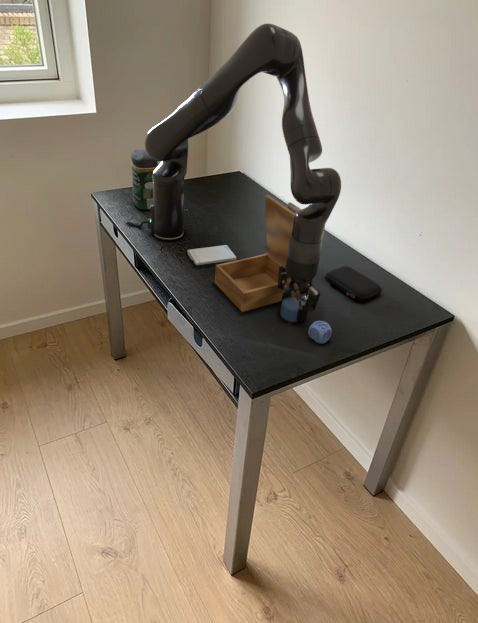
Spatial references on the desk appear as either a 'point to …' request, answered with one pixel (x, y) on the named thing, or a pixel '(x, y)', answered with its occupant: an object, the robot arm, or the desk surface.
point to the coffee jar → (142, 178)
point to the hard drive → (211, 255)
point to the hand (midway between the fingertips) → (292, 312)
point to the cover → (279, 227)
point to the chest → (250, 281)
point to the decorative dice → (320, 331)
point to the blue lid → (290, 309)
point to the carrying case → (353, 283)
